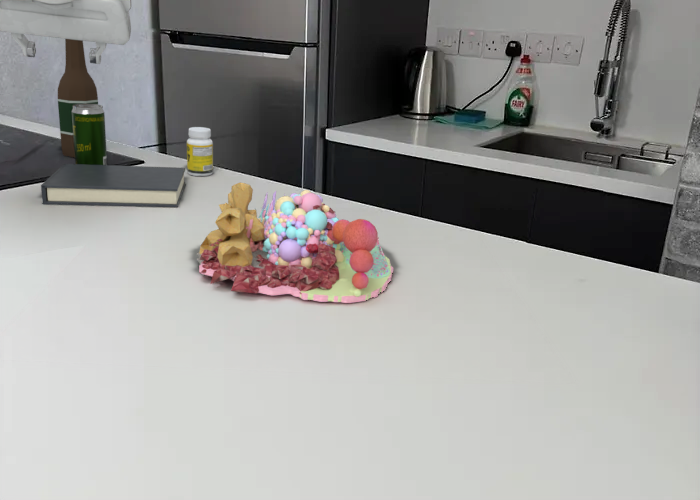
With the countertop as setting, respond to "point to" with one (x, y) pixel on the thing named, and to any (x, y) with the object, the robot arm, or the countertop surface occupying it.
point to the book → (114, 186)
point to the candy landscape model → (294, 250)
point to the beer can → (89, 134)
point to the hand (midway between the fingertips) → (63, 58)
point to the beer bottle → (73, 92)
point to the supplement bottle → (199, 152)
